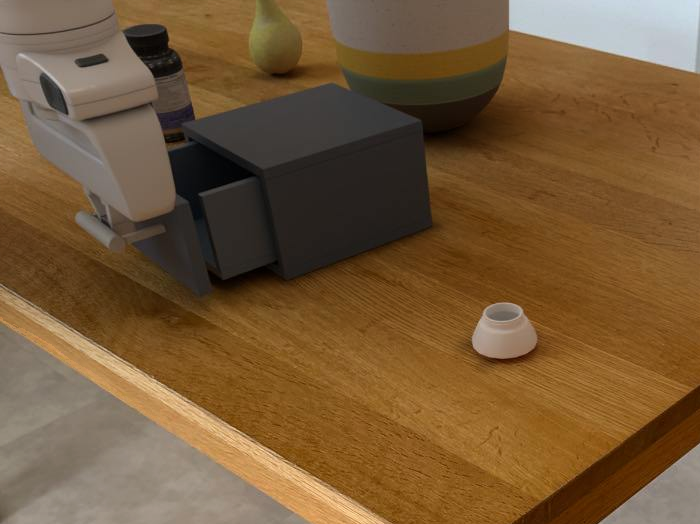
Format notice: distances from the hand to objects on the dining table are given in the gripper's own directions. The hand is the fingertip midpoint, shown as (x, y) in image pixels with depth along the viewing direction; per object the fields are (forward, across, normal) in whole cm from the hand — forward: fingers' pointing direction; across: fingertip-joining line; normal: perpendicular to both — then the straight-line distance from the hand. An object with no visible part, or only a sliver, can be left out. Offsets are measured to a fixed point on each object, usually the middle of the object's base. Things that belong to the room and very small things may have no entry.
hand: (121, 237), depth 84 cm
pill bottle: (+5, -34, +19) cm, 39 cm away
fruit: (+5, -44, +39) cm, 59 cm away
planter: (+5, -15, +42) cm, 45 cm away
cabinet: (+5, 0, +18) cm, 19 cm away
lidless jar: (+5, +29, +17) cm, 34 cm away
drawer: (+4, 0, +7) cm, 8 cm away
